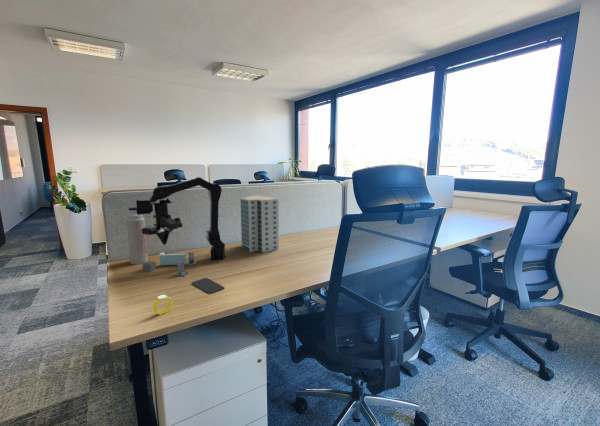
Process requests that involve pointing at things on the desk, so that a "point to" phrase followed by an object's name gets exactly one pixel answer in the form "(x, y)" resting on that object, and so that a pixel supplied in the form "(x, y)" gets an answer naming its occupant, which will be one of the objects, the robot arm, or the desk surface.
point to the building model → (259, 223)
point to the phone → (208, 285)
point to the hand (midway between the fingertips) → (164, 244)
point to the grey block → (181, 269)
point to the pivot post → (191, 259)
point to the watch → (162, 297)
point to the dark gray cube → (149, 266)
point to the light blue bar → (172, 259)
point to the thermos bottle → (136, 237)
